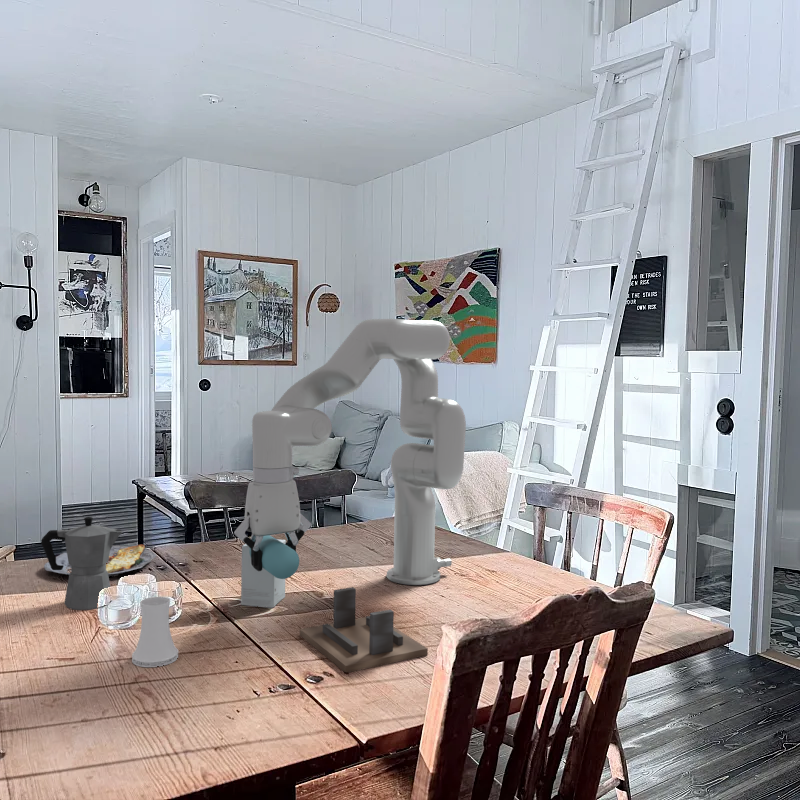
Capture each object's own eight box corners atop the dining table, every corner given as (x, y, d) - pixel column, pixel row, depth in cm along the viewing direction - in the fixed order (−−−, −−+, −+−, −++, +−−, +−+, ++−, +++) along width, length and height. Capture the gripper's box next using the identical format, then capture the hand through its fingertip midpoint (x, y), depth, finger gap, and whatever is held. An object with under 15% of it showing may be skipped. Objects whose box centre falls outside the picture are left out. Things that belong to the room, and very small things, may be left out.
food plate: (77, 551, 199) (77, 537, 199) (167, 554, 198) (167, 541, 198) (28, 583, 174) (28, 567, 174) (130, 587, 173) (130, 571, 173)
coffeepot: (122, 593, 166) (122, 510, 165) (123, 607, 157) (122, 520, 156) (43, 600, 161) (43, 514, 160) (39, 614, 152) (38, 524, 151)
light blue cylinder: (249, 565, 154) (249, 536, 153) (277, 562, 157) (277, 533, 156) (269, 581, 144) (269, 549, 144) (299, 576, 147) (299, 545, 147)
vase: (152, 671, 127) (152, 611, 126) (122, 660, 131) (122, 602, 130) (187, 656, 133) (187, 599, 132) (157, 646, 137) (157, 591, 136)
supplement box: (273, 608, 158) (274, 547, 158) (240, 605, 160) (240, 545, 159) (286, 597, 166) (287, 539, 165) (253, 594, 167) (254, 536, 166)
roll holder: (375, 621, 152) (376, 580, 151) (427, 655, 136) (428, 609, 135) (299, 635, 144) (300, 592, 143) (345, 673, 127) (346, 624, 127)
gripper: (306, 468, 157) (306, 555, 158) (223, 476, 148) (224, 568, 149) (321, 474, 150) (322, 565, 152) (235, 482, 142) (237, 579, 143)
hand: (273, 565), depth 151 cm, fingers closed on light blue cylinder, 5 cm apart
